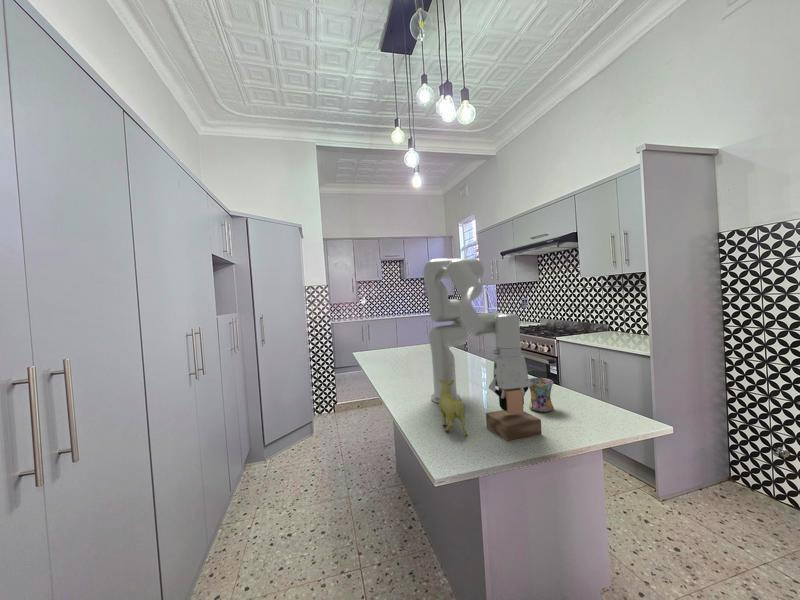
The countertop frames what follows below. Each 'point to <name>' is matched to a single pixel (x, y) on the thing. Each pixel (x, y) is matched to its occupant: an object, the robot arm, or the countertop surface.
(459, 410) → the toy
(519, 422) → the walnut box
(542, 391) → the mug
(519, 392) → the terracotta block
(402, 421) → the countertop surface
